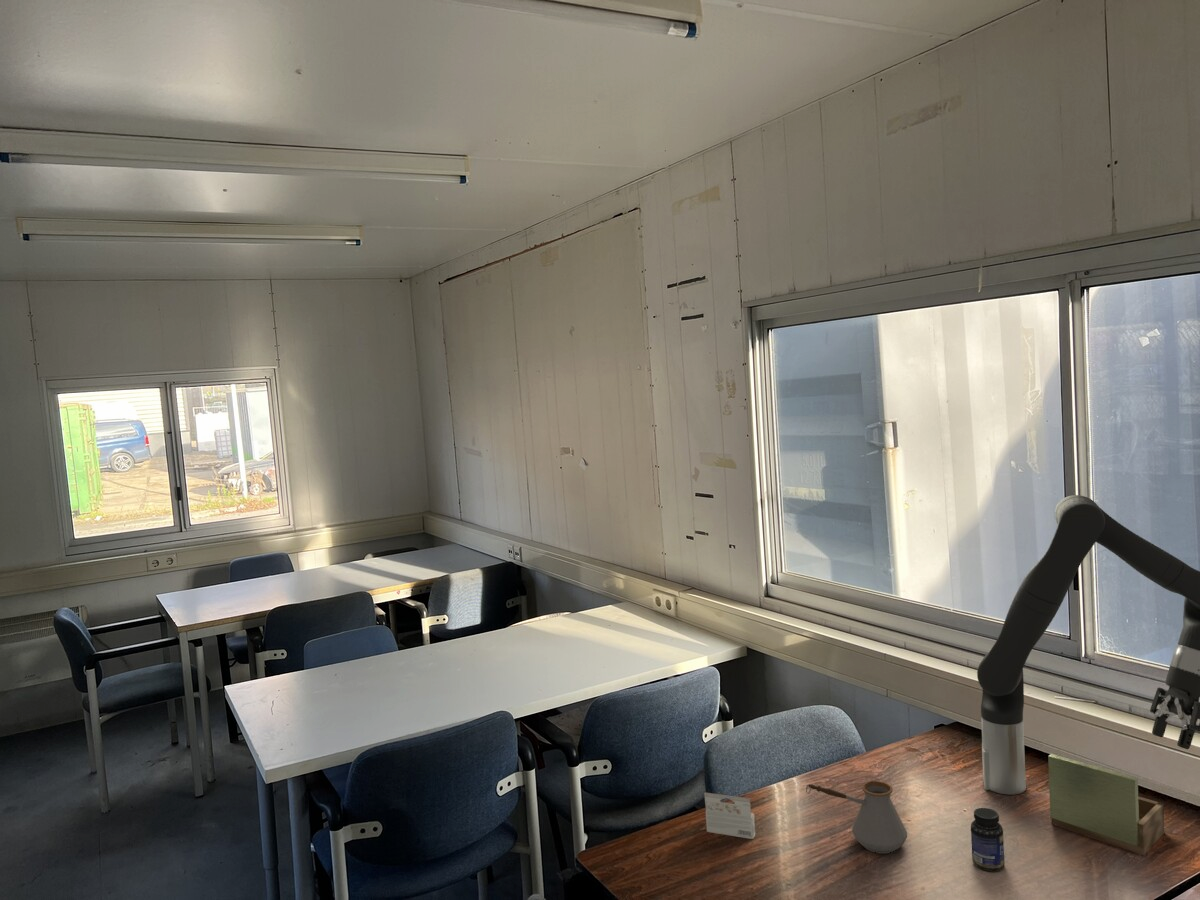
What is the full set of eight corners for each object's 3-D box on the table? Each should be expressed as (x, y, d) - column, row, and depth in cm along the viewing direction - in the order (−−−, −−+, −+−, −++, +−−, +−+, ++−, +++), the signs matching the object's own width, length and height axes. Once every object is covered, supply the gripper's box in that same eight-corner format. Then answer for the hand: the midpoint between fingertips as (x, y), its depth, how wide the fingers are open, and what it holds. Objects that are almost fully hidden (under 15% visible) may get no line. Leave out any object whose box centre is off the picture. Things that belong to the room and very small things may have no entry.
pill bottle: (1008, 873, 172) (1006, 821, 171) (976, 872, 174) (973, 820, 173) (1000, 856, 178) (998, 806, 177) (969, 855, 180) (967, 805, 179)
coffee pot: (895, 828, 192) (892, 764, 191) (916, 855, 181) (913, 788, 180) (802, 837, 192) (798, 772, 190) (817, 865, 180) (813, 797, 179)
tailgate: (1053, 814, 188) (1051, 753, 187) (1139, 843, 175) (1137, 777, 174) (1050, 817, 187) (1048, 756, 186) (1136, 846, 174) (1134, 780, 173)
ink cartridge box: (709, 827, 199) (706, 787, 198) (756, 834, 194) (753, 793, 193) (706, 832, 197) (703, 792, 196) (753, 840, 192) (750, 798, 191)
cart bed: (1074, 804, 197) (1073, 777, 196) (1164, 832, 182) (1163, 803, 182) (1051, 824, 189) (1050, 796, 189) (1143, 855, 175) (1142, 825, 174)
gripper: (1153, 658, 193) (1133, 727, 192) (1196, 671, 179) (1174, 746, 178) (1185, 668, 193) (1165, 737, 192) (1230, 683, 178) (1209, 757, 178)
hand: (1169, 741), depth 185 cm, fingers open, 8 cm apart
